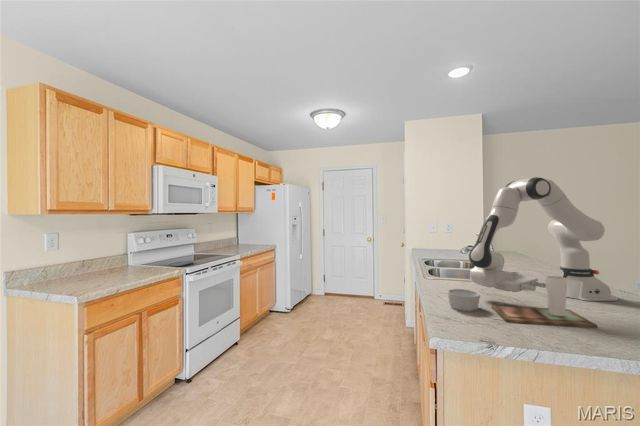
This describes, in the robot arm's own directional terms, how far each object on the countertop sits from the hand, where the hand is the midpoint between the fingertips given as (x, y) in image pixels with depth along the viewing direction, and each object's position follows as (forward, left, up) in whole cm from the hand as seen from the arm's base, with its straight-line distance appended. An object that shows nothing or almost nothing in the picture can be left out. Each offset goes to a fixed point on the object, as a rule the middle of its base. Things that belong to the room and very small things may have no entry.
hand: (540, 287), depth 126 cm
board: (+2, +4, -11) cm, 12 cm away
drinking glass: (-3, +5, -10) cm, 12 cm away
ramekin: (+29, -3, -11) cm, 32 cm away
